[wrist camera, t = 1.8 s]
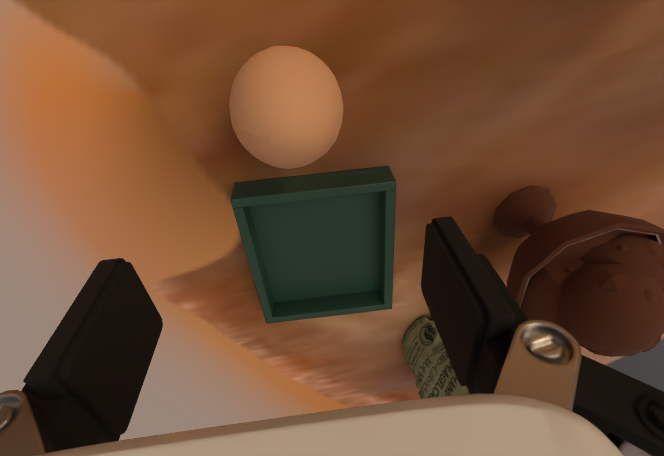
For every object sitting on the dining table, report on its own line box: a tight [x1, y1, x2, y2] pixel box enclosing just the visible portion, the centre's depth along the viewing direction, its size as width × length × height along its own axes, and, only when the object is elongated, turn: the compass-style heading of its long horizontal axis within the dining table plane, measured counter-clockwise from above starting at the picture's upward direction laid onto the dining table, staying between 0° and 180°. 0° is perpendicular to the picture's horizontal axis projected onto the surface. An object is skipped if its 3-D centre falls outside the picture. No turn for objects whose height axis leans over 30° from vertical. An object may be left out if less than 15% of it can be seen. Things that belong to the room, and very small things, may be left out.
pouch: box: [402, 317, 469, 399], centre depth 34 cm, size 11×12×25 cm
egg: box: [229, 46, 343, 169], centre depth 22 cm, size 7×7×9 cm
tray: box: [231, 166, 396, 323], centre depth 33 cm, size 15×13×3 cm
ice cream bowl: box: [494, 186, 664, 357], centre depth 27 cm, size 11×11×15 cm
